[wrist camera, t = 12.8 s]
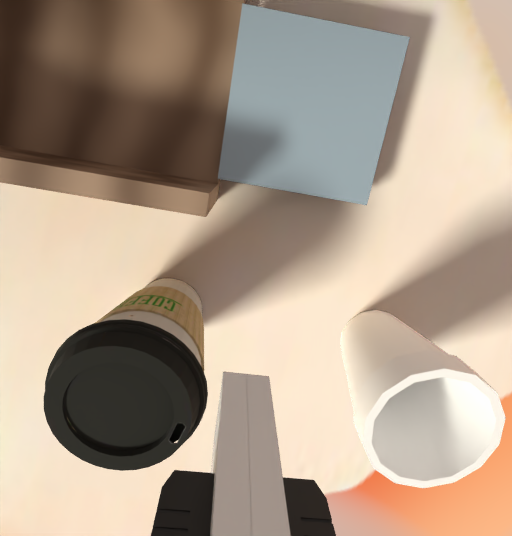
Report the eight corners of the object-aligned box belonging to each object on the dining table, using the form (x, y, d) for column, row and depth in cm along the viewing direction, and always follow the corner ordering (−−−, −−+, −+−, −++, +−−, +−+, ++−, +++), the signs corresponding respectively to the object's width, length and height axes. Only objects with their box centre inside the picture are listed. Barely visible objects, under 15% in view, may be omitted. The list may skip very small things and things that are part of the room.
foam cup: (305, 345, 38) (333, 440, 25) (370, 276, 36) (435, 342, 23) (373, 396, 40) (431, 508, 27) (438, 333, 38) (533, 422, 25)
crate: (-44, 154, 32) (-161, 155, 23) (-55, -75, 27) (-207, -189, 18) (217, 199, 33) (206, 216, 24) (247, -11, 29) (247, -87, 20)
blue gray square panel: (217, 178, 30) (366, 205, 30) (242, 3, 26) (409, 37, 27) (220, 177, 32) (359, 201, 32) (243, 15, 28) (398, 46, 29)
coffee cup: (139, 241, 34) (61, 306, 20) (238, 285, 36) (232, 375, 21) (103, 331, 37) (10, 446, 22) (196, 369, 38) (166, 499, 24)
